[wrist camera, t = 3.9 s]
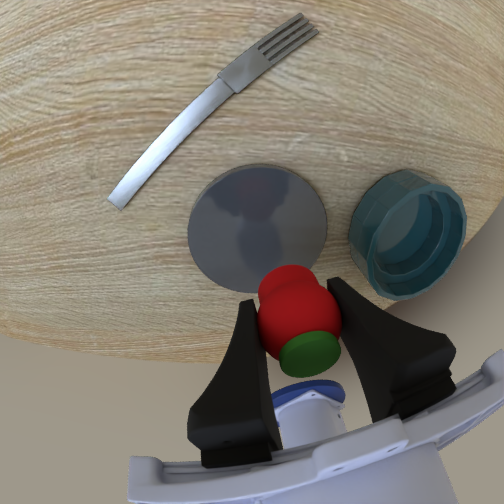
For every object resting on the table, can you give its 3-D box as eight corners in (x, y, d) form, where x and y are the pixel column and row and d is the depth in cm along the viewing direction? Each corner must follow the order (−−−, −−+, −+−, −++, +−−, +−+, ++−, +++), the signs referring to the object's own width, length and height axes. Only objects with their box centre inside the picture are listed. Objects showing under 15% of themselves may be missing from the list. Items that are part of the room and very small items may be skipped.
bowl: (449, 226, 23) (474, 247, 19) (376, 290, 26) (395, 318, 22) (414, 144, 18) (447, 157, 15) (322, 222, 21) (342, 249, 18)
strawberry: (336, 286, 15) (370, 351, 11) (281, 326, 16) (300, 394, 12) (294, 242, 14) (326, 309, 9) (234, 291, 15) (242, 366, 11)
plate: (345, 230, 22) (351, 236, 21) (252, 304, 24) (254, 312, 24) (263, 133, 17) (266, 135, 16) (160, 232, 20) (158, 238, 19)
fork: (124, 210, 19) (122, 213, 18) (106, 194, 18) (104, 197, 18) (317, 33, 14) (319, 32, 13) (298, 14, 13) (301, 12, 13)
